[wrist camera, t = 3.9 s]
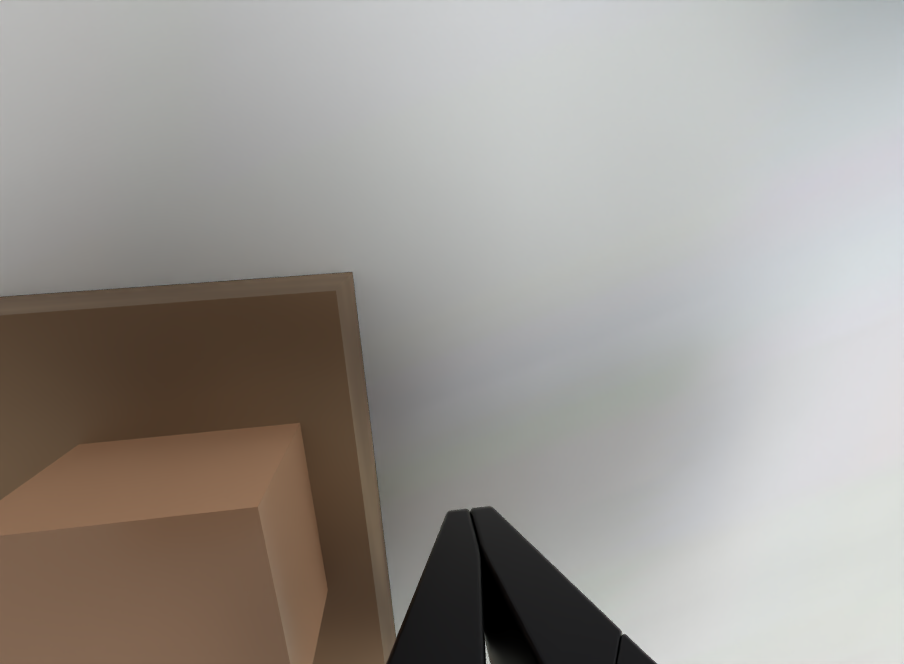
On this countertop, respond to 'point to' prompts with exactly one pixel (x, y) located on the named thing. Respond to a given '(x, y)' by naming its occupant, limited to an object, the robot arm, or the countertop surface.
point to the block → (165, 553)
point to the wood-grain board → (213, 404)
